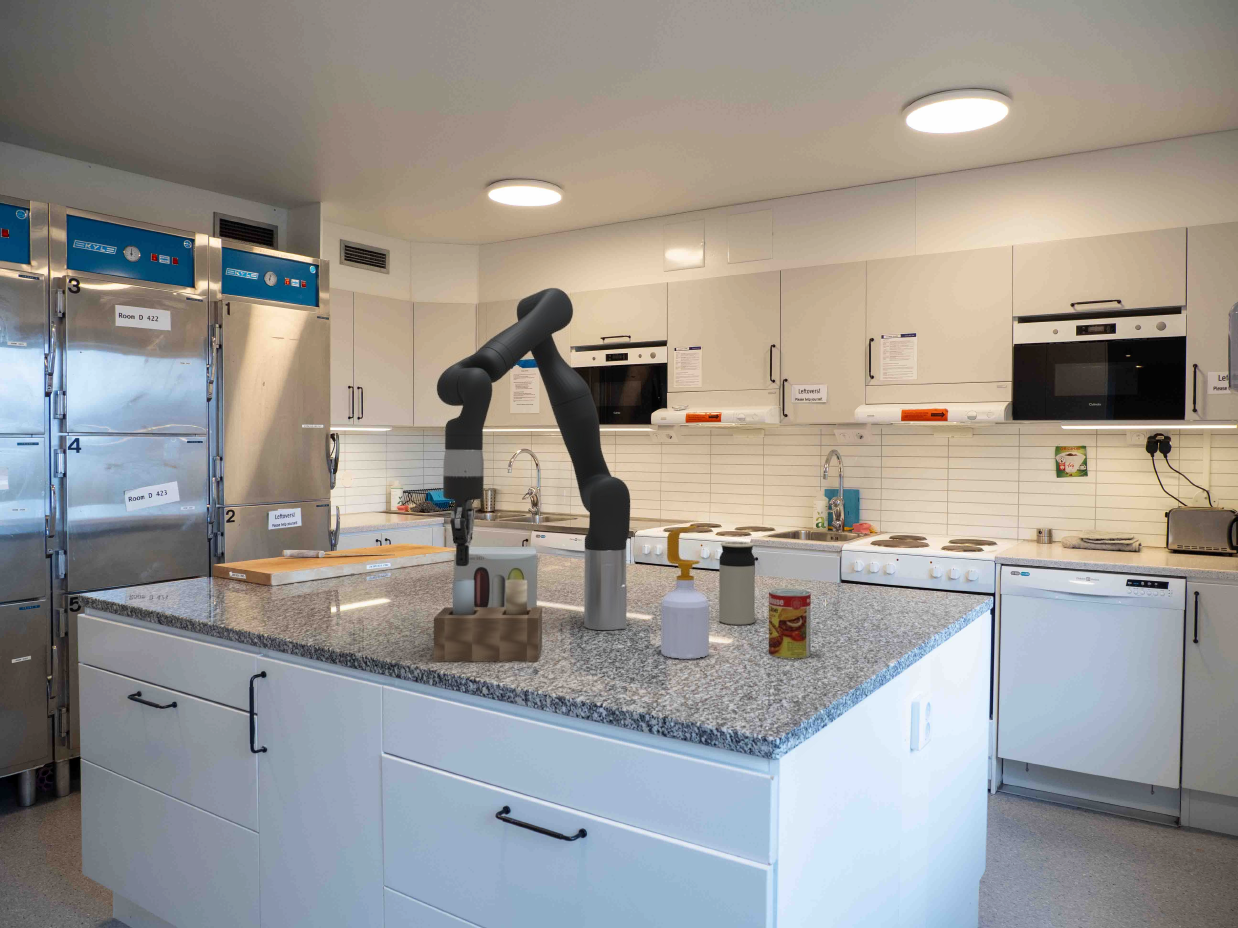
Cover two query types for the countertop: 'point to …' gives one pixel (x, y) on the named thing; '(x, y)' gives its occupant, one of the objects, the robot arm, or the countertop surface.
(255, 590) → the countertop surface
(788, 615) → the canned food
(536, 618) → the walnut block
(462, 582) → the blue-grey peg
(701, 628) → the soap bottle
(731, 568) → the travel mug
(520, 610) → the birch peg
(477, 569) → the supplement box
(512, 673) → the countertop surface
